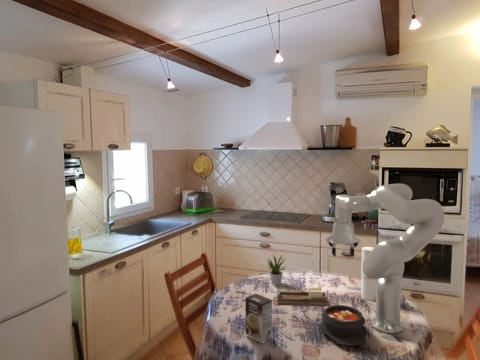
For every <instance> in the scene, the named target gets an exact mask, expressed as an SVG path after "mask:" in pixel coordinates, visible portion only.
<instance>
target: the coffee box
mask: <svg viewBox="0 0 480 360" xmlns="http://www.w3.org/2000/svg"><path fill="white" fill-rule="evenodd" d="M272 309H273V300H272V299H271V298H267V297H266V296H264V295H261V294H258V293H253V294H250V295H248V296H246V297H245V336H246V335H248V336H250V337H252V338H254V339H255V340H257V341H259V342H260V343H259V342H258V343H259V344H261V343H263V342H264V343H266V342H268V341H269V340H268V339H270V338H271V339H272V337H273V335H272V333H273V331H272V330H273V326H272V324H273V323H272V322H273V319H272V316H273V310H272ZM248 336H247V337H248ZM250 337H249V338H250ZM252 338H251V339H252ZM271 339H270V340H271ZM255 340H254V341H255ZM267 340H268V341H267ZM257 341H256V342H257ZM265 341H266V342H265ZM264 343H263V344H264Z"/></svg>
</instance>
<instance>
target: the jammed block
mask: <svg viewBox="0 0 480 360" xmlns="http://www.w3.org/2000/svg"><path fill="white" fill-rule="evenodd" d="M308 292H309V298H314V299H323V292H324V291H323V289H322V287H321V286H308Z"/></svg>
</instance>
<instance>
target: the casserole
mask: <svg viewBox="0 0 480 360" xmlns="http://www.w3.org/2000/svg"><path fill="white" fill-rule="evenodd" d="M321 318H322V319H321V322H320V324H319V328H320V331H321V332H322V333H323V334H325V335H327V336H328V337H330V338H331V339H332V340H334V342H336V343H337V344H339V345H343V346H344V345H345V346H361V345H365V344H366V343H367V341H368V340H367V335H368V329H367V328H366V326H365V324H366V319H365V317H364V316H363V313H362V312H361V311H360V310H358V309H357V308H354V307H352V306H349V305H341V304H339V305H338V304H336V305H331V306H327V307H326V308H325V309H324V311H323V312H322V315H321Z"/></svg>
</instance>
